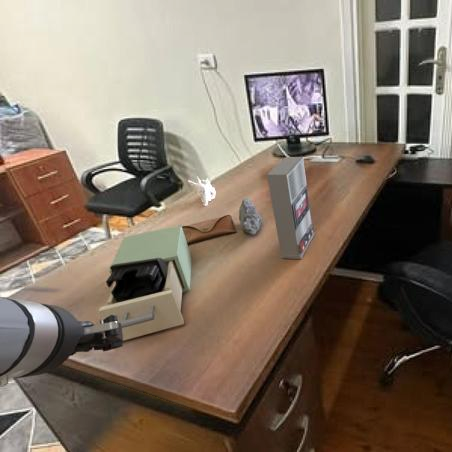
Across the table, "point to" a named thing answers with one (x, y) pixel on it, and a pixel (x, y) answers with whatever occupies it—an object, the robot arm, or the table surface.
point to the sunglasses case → (209, 229)
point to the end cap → (137, 278)
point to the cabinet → (158, 250)
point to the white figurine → (204, 191)
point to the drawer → (149, 308)
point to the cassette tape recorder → (291, 207)
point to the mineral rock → (249, 217)
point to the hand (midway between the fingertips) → (116, 339)
